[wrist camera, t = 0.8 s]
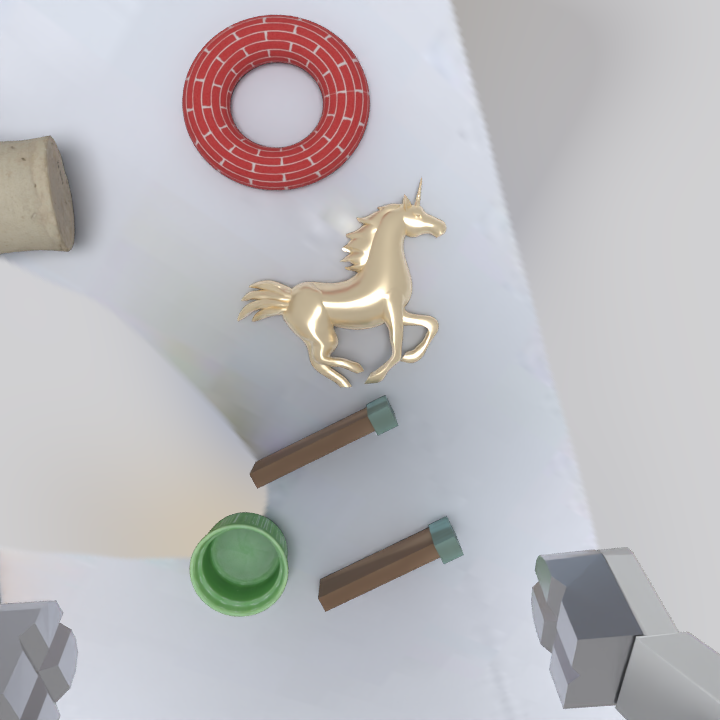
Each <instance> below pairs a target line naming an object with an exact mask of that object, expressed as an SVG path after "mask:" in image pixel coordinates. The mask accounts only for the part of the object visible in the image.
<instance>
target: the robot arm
mask: <svg viewBox="0 0 720 720" xmlns="http://www.w3.org/2000/svg"><path fill="white" fill-rule="evenodd" d="M535 572H536V575H537V577H538V580H539V582H538V583H537V584H536V585H534V586H533V587H532V597H531V604H532V614H533V620H534V624H535V628H536V632H537V635H538V638H539V641H540V644H541V645H542V646H543V647H545V648H546V649H547V650H548V651H549V652H550V653H552V656H551V662H550V668H549V670H550V673H551V676H552V678H553V681H554V684H555V687H556V690H557V693H558V695H559V698H560V701H561V704H562V707H563V709H567V708H582V707H597V706H612V705H616V707H615V708H616V709H617V711H618V712H619V713H620V714H621V715H622V716H623V717H624V718H625V719H626V720H720V654H719V653H717V652H716V651H715V650H713V649H712V648H710V647H709V646H707V645H706V644H705V643H703V642H702V641H701V640H699V639H698V638H696V637H695V636H694V635H692V634H691V633H689V632H679V631H678V629H677V628H676V626H675V624H674V623H673V621H672V619H671V617H670V616H669V614H668V612H667V610H666V608H665V607H664V605H663V603H662V601H661V600H660V598H659V596H658V595H657V593H656V591H655V589H654V588H653V586H652V584H651V582H650V581H649V579H648V577H647V576H646V574H645V572H644V570H643V569H642V567H641V565H640V563H639V562H638V560H637V558H636V556H635V555H634V553H633V552H632V551H631V550H630V549H629V548H627V547H624V548H614V549H602V550H585V551H576V552H566V553H557V554H547V555H539V557H538V558H537V560H536V566H535ZM62 615H63V612H62V610H61V608H60V606H59V605H58V603H57V601H56V600H55V601H39V602H23V603H7V604H0V720H59V718H60V713H59V710H58V708H57V705H56V702H57V701H58V700H59V699H60V698H61V697H62V696H63V695H64V694H65V693H66V692H67V691H68V690H69V689H70V687H71V684H72V681H73V678H74V675H75V672H76V665H77V655H78V649H77V643H76V638H75V636H74V634H73V632H72V630H71V629H70V628H68V627H66V626H64V625H63V624H61V623H59V622H60V620H61V617H62Z"/></svg>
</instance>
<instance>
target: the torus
mask: <svg viewBox="0 0 720 720" xmlns="http://www.w3.org/2000/svg"><path fill="white" fill-rule="evenodd" d="M273 62H282V63H289V64H293V65H295V66H298V67H300V68H302V69H303V70H305V71H306V72H308V73H309V74H310V75H311V76H312V77H313V78H314V80H315V81H316V82H317V84H318V86H319V88H320V90H321V93H322V96H323V112H322V116H321V119H320V121H319V123H318V125H317V126H316V128H315V129H314V130H313V132H312V133H311V134H310V135H309V136H308V137H306V138H305V139H304V140H302V141H300V142H298V143H296V144H294V145H291V146H287V147H281V148H271V147H265V146H261V145H258V144H256V143H254V142H252V141H250V140H249V139H247V138H246V137H245V136H244V135H242V134H241V132H240V131H239V130H238V129H237V127H236V125H235V124H234V121H233V119H232V115H231V110H230V101H231V95H232V92H233V90H234V88H235V86H236V84H237V83H238V81H239V80H240V79H241V78H242V77H243V76H244V75H245V74H246V73H247V72H248V71H250V70H252V69H253V68H255V67H257V66H260V65H263V64H267V63H273ZM182 106H183V115H184V121H185V124H186V128H187V131H188V133H189V136H190V138H191V140H192V142H193V143H194V145H195V147H196V148H197V150H198V151H199V153H200V154H201V155H202V157H203V158H204V159H205V160H206V161H207V162H208V163H209V164H210V165H211V166H212V167H213V168H215V169H216V170H217V171H218V172H220V173H221V174H223V175H224V176H226V177H228V178H229V179H231V180H233V181H236V182H238V183H240V184H243V185H246V186H249V187H253V188H258V189H264V190H289V189H295V188H300V187H304V186H307V185H310V184H312V183H315V182H317V181H319V180H321V179H323V178H325V177H327V176H328V175H330V174H331V173H333V172H334V171H335V170H337V169H338V168H339V167H340V166H341V165H343V164H344V163H345V161H346V160H347V159H348V158H349V157H350V156H351V155H352V153H353V152H354V151H355V149H356V148H357V146H358V144H359V143H360V141H361V139H362V136H363V134H364V132H365V129H366V126H367V122H368V117H369V109H370V97H369V89H368V84H367V80H366V77H365V74H364V72H363V69H362V67H361V65H360V63H359V61H358V60H357V58H356V56H355V55H354V54H353V52H352V51H351V50H350V48H349V47H348V46H347V45H346V44H345V43H344V42H343V41H342V40H341V39H340V38H339V37H337V36H336V35H335V34H334V33H332V32H331V31H329V30H328V29H326V28H324V27H322V26H320V25H318V24H316V23H314V22H311V21H309V20H306V19H302V18H298V17H293V16H286V15H265V16H258V17H253V18H249V19H246V20H243V21H240V22H238V23H235V24H233V25H231V26H229V27H227V28H226V29H224V30H223V31H221V32H220V33H218V34H217V35H216V36H214V37H213V38H212V39H211V40H210V41H209V42H208V43H207V44H206V45H205V46H204V47H203V48H202V50H201V51H200V52H199V53H198V55H197V56H196V58H195V60H194V61H193V63H192V65H191V67H190V69H189V72H188V74H187V77H186V80H185V84H184V89H183V98H182Z"/></svg>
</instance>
